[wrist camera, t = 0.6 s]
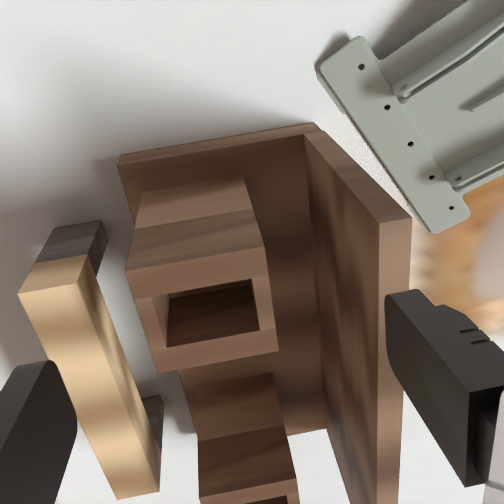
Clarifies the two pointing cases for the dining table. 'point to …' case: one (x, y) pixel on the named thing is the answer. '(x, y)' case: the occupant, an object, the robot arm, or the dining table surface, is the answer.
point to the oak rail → (93, 359)
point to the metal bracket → (431, 108)
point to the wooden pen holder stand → (272, 305)
